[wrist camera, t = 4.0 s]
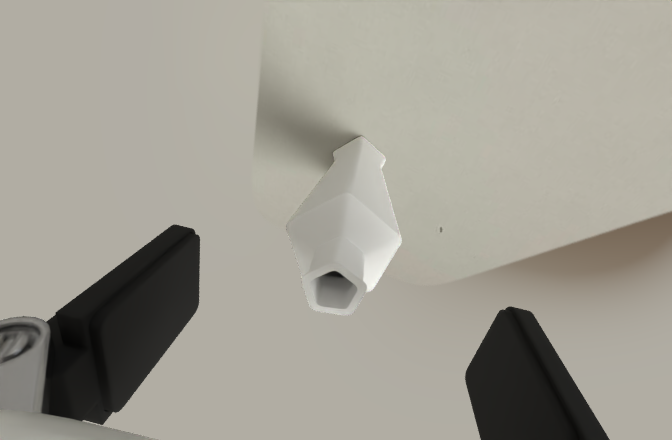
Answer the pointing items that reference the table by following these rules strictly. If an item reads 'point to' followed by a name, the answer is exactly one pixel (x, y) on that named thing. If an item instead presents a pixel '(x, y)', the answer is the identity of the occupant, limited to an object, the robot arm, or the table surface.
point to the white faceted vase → (345, 230)
